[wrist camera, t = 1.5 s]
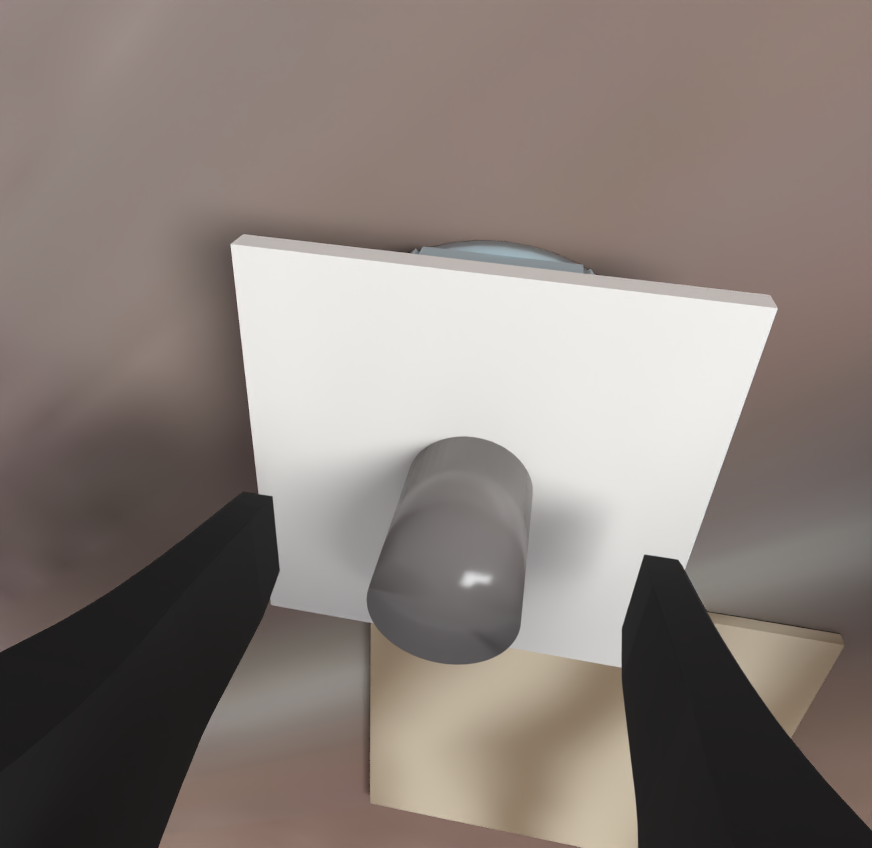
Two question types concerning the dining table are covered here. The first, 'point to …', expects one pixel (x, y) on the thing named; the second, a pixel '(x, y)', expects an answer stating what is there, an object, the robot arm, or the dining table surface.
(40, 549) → the dining table surface
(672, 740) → the robot arm
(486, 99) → the dining table surface
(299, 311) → the cover
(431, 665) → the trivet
